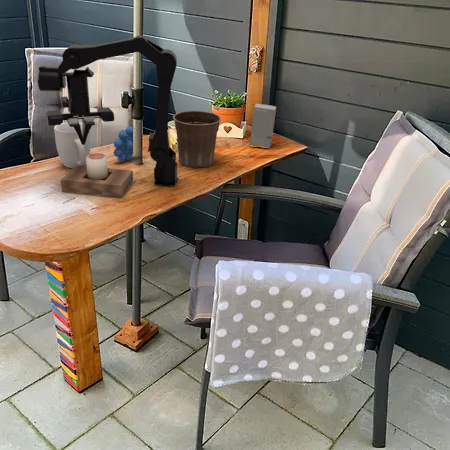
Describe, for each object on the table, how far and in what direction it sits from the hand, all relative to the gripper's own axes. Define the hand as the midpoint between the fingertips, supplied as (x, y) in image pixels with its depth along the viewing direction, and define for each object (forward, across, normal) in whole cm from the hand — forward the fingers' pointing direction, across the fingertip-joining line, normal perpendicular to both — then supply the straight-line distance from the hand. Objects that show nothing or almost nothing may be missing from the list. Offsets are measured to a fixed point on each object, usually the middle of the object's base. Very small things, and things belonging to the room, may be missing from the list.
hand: (83, 144), depth 147 cm
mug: (+12, +1, -13) cm, 18 cm away
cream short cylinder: (+8, -3, +6) cm, 11 cm away
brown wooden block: (+12, -3, +6) cm, 14 cm away
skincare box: (+13, -70, -16) cm, 73 cm away
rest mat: (+12, -11, +3) cm, 17 cm away
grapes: (+12, -16, -15) cm, 25 cm away
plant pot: (+12, -39, -6) cm, 41 cm away
